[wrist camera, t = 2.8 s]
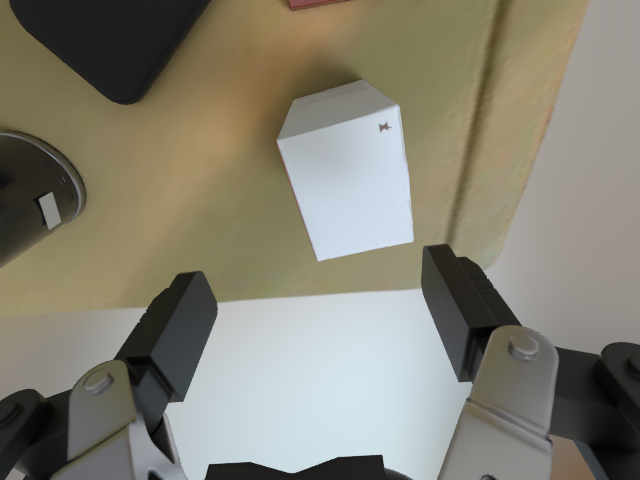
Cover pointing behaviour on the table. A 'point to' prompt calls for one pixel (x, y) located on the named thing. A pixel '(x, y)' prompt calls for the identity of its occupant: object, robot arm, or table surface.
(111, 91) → the carrying case
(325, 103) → the small box
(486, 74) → the table surface
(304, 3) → the button panel
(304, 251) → the table surface
